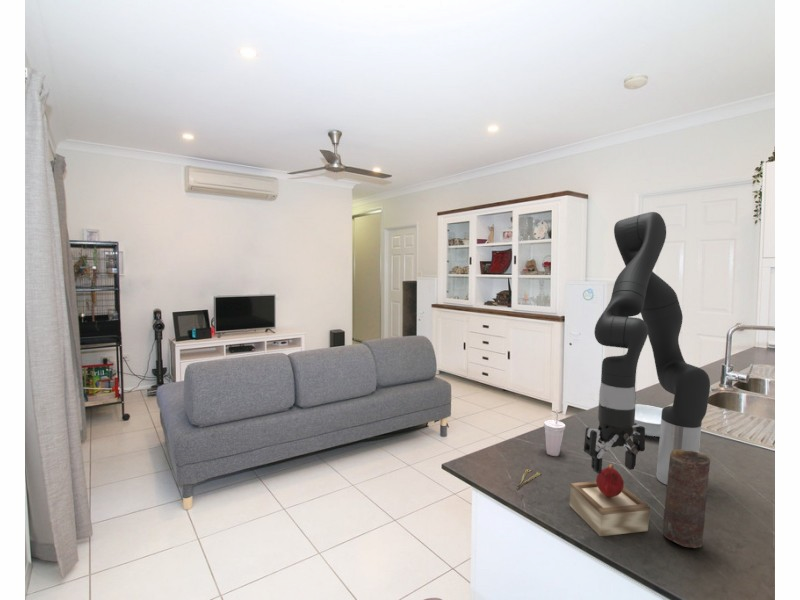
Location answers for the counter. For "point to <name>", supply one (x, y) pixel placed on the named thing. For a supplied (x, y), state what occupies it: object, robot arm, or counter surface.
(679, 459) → the rusty metal cylinder
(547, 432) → the smoothie
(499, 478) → the counter surface
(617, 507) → the pedestal
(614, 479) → the pomegranate
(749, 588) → the counter surface
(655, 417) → the serving bowl
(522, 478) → the tongs
